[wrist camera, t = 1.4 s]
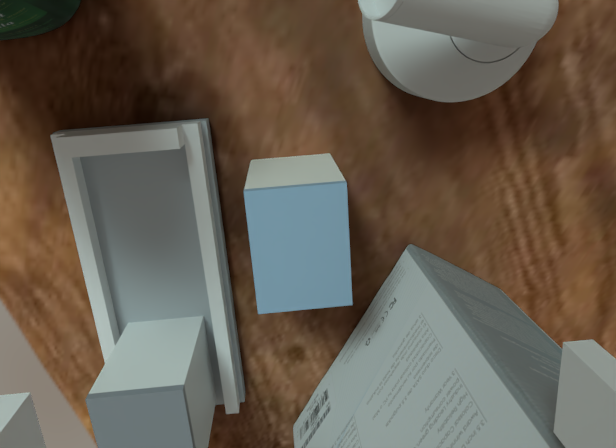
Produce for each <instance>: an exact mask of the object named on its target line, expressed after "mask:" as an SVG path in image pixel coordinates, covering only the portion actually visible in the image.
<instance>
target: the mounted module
mask: <svg viewBox="0 0 616 448" xmlns="http://www.w3.org/2000/svg"><path fill="white" fill-rule="evenodd" d="M85 400H86V404H87V408H88V411H89V415H90V419H91V423H92V427H93V430H94V434H95V438H96V442H97V446H98V448H208V444H209V439H210V433H211V427H212V421H213V415H214V410H215V404H216V392H215V386H214V379H213V373H212V367H211V361H210V354H209V348H208V342H207V335H206V329H205V323H204V316H195V317H185V318H174V319H164V320H153V321H143V322H132V323H128V324H127V326H126V328H125V329H124V331H123V333H122V335H121V337H120V338H119V340H118V342H117V344H116V345H115V347H114V349H113V351H112V353H111V354H110V356H109V358H108V360H107V362H106V363H105V365H104V367H103V369H102V371H101V372H100V374H99V376H98V378H97V380H96V381H95V383H94V385H93V387H92V389H91V390H90V392H89V394H88V396H87V397H86V399H85Z"/></svg>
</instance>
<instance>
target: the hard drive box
mask: <svg viewBox="0 0 616 448" xmlns="http://www.w3.org/2000/svg"><path fill="white" fill-rule="evenodd" d="M561 357H562V348H561V347H560V346H558V345H557V344H556V343H555V342H554V341H553V340H552V339H551V338H550V337H549V336H548V335H547V334H546V333H545V332H544V331H543V330H542V329H541V328H540V327H539V326H538V325H536V324H535V323H534V322H533V321H532V320H531V319H530V318H529V317H528V316H527V315H526V314H525V313H524V312H523V311H522V310H521V309H520V308H519V307H518V306H517V305H516V304H515V303H514V302H513V301H512V300H511V299H510V298H509V297H508V296H507V295H506V294H505V293H504V292H503V291H502V290H501V289H499V288H497V287H495V286H493V285H492V284H490V283H488V282H486V281H484V280H482V279H480V278H478V277H476V276H474V275H472V274H470V273H469V272H467V271H465V270H463V269H461V268H459V267H457V266H455V265H453V264H451V263H449V262H447V261H445V260H443V259H441V258H439V257H437V256H435V255H433V254H431V253H429V252H427V251H425V250H423V249H421V248H419V247H417V246H414V245H412V244H410V245H408V246H407V248H406V249H405V251H404V252H403V254H402V255H401V257H400V259H399V260H398V262H397V263H396V265H395V267H394V268H393V270H392V271H391V273H390V275H389V276H388V278H387V279H386V280H385V282H384V283H383V285H382V286H381V288H380V290H379V291H378V293H377V294H376V296H375V298H374V299H373V301H372V302H371V304H370V306H369V308H368V309H367V311H366V312H365V314H364V315H363V317H362V319H361V320H360V322H359V323H358V325H357V326H356V328H355V329H354V331H353V332H352V334H351V336H350V337H349V339H348V340H347V342H346V344H345V345H344V347H343V348H342V350H341V351H340V353H339V355H338V356H337V358H336V359H335V361H334V362H333V364H332V365H331V367H330V369H329V370H328V372H327V373H326V375H325V376H324V377H323V379H322V380H321V382H320V384H319V385H318V387H317V388H316V390H315V391H314V393H313V395H312V397H311V398H310V400H309V402H308V403H307V405H306V407H305V408H304V410H303V411H302V413H301V414H300V416H299V418H298V419H297V421H296V422H295V424H294V426H293V434H294V447H295V448H565V447H564V445H563V444H562V443H561V441H560V440H559V439H558V437H557V436H556V435H555V433H554V432H553V431H554V422H555V413H556V403H557V394H558V385H559V376H560V367H561Z"/></svg>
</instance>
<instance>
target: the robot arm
mask: <svg viewBox="0 0 616 448" xmlns="http://www.w3.org/2000/svg"><path fill="white" fill-rule="evenodd" d="M553 432H554V433H555V435H556V436H557V437H558V439H559V440H560V441H561V443H562V444H563V445H564V447H565V448H616V359H615V358H614V357H613V356H612V355H610V354H609V353H608V352H607V351H606V350H605V349H603V348H602V347H601V346H600V345H599V344H598V343H596V342H595V341H594V340H593V339H591V340H581V341H570V342H563V348H562V357H561V367H560V376H559V385H558V394H557V403H556V413H555V422H554V431H553ZM0 448H46V446H45V442H44V439H43V435H42V432H41V429H40V425H39V421H38V418H37V414H36V411H35V407H34V404H33V400H32V397H31V393H20V394H9V395H0Z"/></svg>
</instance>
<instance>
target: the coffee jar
mask: <svg viewBox="0 0 616 448" xmlns="http://www.w3.org/2000/svg"><path fill="white" fill-rule="evenodd" d="M80 2H81V0H0V40H9V39H18V38H25V37H31V36H36V35H39V34H43V33H46V32H49V31H51V30H54V29H56V28H58V27H60V26H62V25H63V24H65V23H66V22H67V21H69V20H70V19H71V17H72V16H73V15H74V13H75V12H76V11H77V9H78V7H79V5H80Z"/></svg>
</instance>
